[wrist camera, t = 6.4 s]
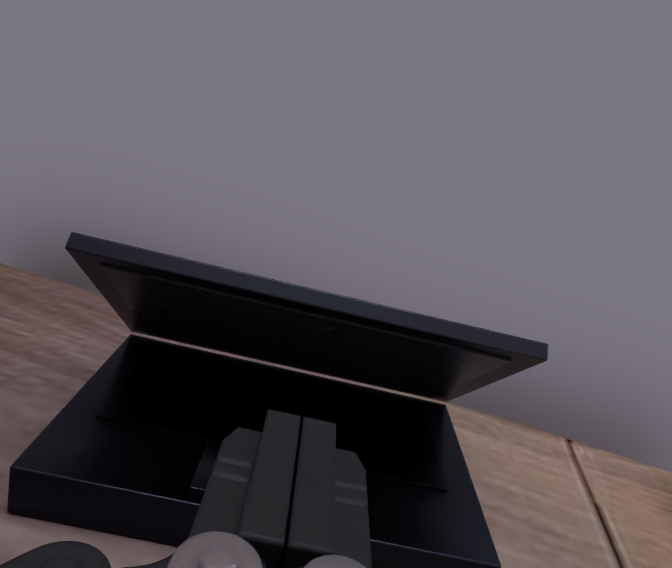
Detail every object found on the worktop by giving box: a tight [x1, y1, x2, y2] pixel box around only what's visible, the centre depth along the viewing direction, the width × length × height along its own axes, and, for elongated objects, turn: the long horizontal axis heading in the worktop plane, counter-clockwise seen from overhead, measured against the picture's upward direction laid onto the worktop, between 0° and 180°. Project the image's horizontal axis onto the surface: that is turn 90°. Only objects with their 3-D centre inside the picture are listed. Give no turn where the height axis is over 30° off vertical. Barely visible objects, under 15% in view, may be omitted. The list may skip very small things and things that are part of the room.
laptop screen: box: [65, 232, 548, 402], centre depth 22 cm, size 10×16×1 cm
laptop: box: [7, 335, 501, 568], centre depth 22 cm, size 10×16×2 cm, turn 89°
